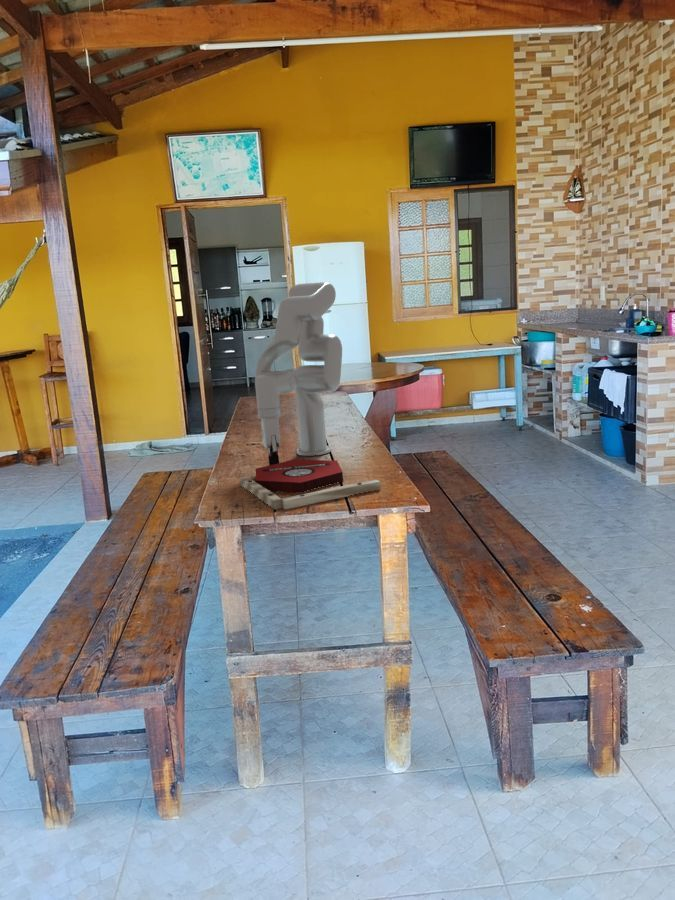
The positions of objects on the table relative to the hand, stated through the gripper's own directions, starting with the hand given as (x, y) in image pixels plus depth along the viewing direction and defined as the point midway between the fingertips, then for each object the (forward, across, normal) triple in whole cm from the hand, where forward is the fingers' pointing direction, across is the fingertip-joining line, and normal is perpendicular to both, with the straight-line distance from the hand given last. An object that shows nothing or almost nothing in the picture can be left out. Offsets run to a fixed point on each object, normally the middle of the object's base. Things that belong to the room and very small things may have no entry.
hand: (274, 466), depth 244 cm
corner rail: (+2, +25, +6) cm, 26 cm away
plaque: (+2, +15, +5) cm, 16 cm away
